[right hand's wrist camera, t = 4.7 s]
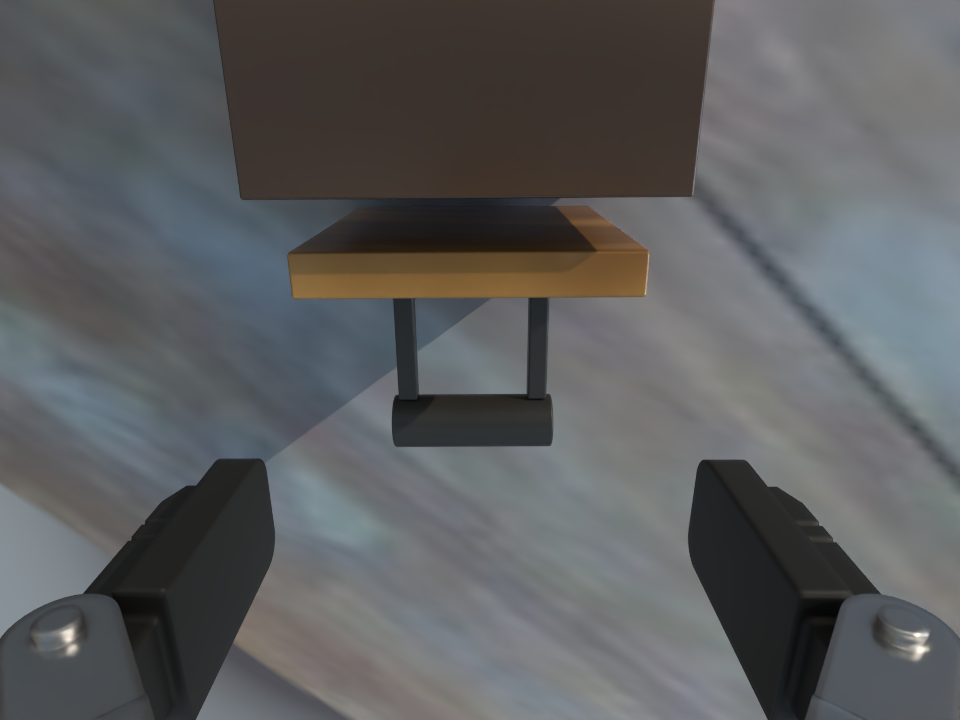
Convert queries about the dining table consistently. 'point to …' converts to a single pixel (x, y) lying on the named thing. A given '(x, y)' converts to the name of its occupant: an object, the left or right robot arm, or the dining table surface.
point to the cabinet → (464, 97)
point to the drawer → (470, 296)
